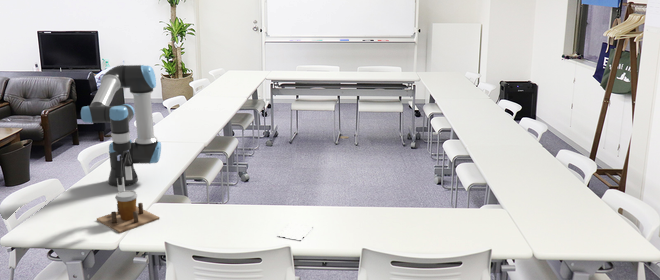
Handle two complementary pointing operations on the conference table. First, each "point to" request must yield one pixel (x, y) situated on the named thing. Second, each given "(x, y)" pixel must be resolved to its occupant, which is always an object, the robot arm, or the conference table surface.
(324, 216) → the conference table surface
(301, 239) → the conference table surface
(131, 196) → the disposable coffee cup
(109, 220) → the holder
